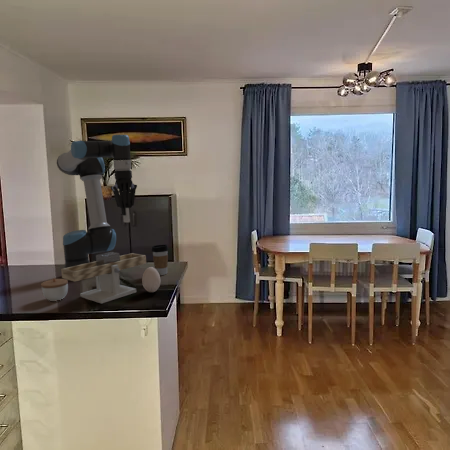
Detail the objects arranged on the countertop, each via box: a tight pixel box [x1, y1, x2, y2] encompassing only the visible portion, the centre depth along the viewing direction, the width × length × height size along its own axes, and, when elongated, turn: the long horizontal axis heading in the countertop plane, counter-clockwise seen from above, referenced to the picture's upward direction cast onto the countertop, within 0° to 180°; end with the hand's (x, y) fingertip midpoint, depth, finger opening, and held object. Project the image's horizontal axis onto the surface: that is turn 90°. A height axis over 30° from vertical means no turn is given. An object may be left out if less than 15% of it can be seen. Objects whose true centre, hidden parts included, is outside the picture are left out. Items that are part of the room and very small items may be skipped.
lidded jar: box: [40, 277, 69, 302], centre depth 178 cm, size 11×11×9 cm
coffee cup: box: [151, 244, 169, 276], centre depth 212 cm, size 8×8×15 cm
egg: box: [141, 266, 162, 293], centre depth 182 cm, size 8×8×11 cm
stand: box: [80, 265, 137, 304], centre depth 181 cm, size 18×16×14 cm
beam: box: [60, 252, 147, 282], centre depth 180 cm, size 36×10×4 cm, turn 140°
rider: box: [95, 251, 121, 266], centre depth 181 cm, size 8×6×5 cm
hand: (126, 222), depth 188 cm, fingers closed
